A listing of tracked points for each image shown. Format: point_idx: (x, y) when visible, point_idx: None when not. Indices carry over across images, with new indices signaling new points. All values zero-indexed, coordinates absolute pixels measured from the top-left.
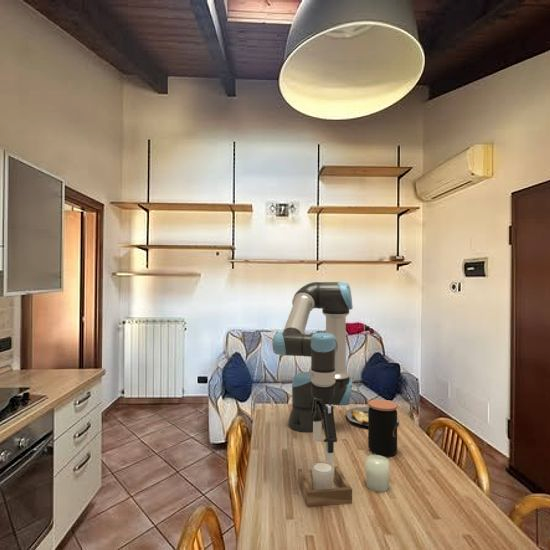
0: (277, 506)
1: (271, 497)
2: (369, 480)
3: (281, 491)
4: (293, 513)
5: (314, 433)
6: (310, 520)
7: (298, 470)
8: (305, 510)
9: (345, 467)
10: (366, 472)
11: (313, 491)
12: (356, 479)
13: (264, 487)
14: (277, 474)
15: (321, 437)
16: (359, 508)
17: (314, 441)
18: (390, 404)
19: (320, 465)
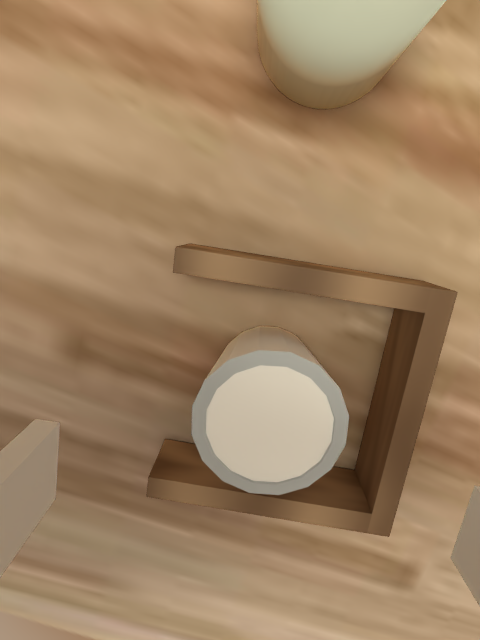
0: (319, 595)
1: (251, 597)
2: (351, 91)
3: (220, 548)
4: (387, 555)
5: (6, 559)
6: (457, 512)
7: (158, 497)
8: None
9: (80, 131)
10: (313, 77)
11: (389, 505)
12: (227, 134)
13: (169, 601)
14: (75, 521)
15: (40, 446)
16: (476, 267)
17: (55, 492)
18: None
19: (236, 427)
